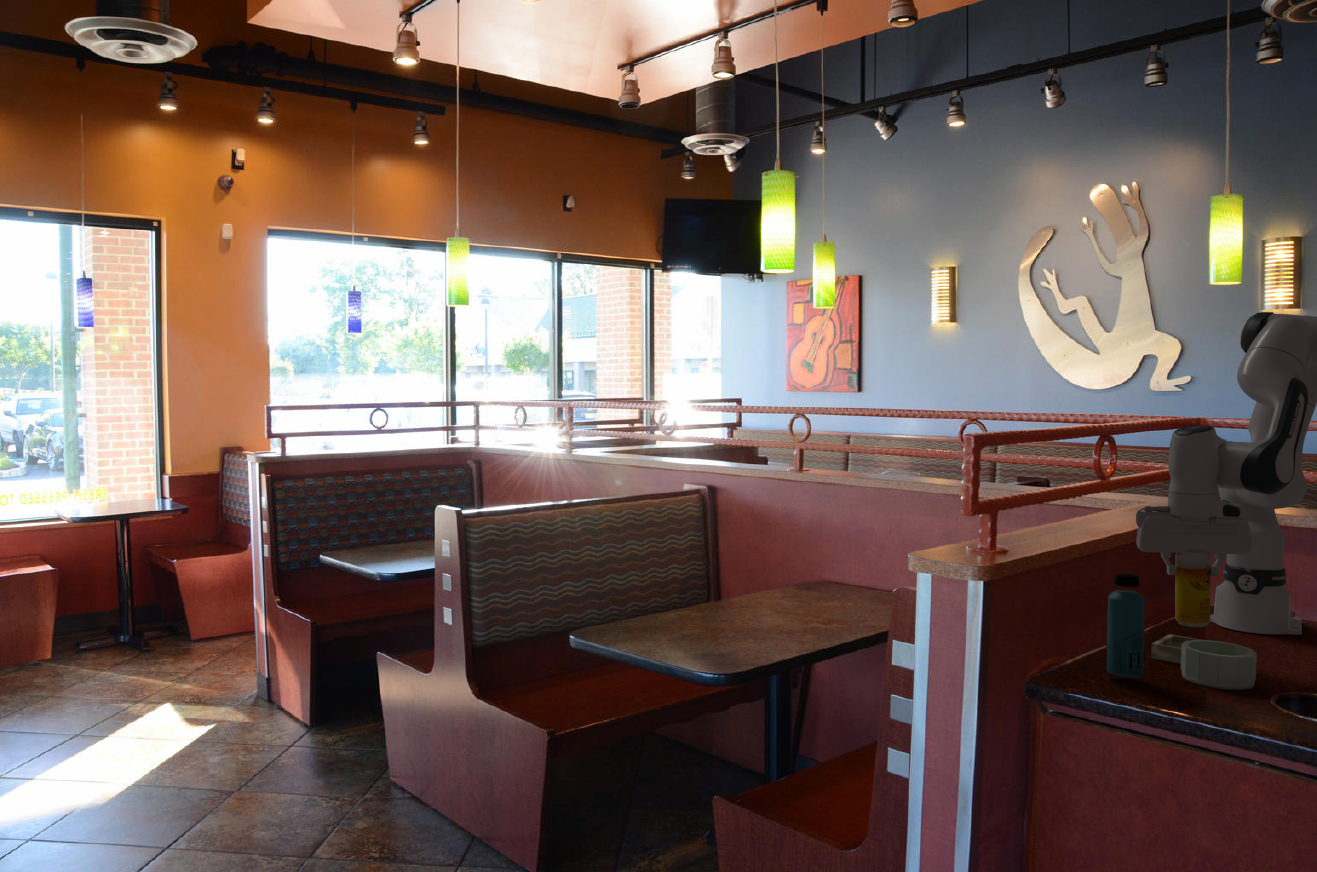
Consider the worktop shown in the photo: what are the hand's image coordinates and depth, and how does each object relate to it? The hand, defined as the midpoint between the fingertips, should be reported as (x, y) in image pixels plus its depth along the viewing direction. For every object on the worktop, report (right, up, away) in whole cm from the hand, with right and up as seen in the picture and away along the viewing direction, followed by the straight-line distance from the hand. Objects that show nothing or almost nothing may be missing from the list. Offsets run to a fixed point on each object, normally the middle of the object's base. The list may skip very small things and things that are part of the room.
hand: (1192, 574), depth 187 cm
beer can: (0, -10, 0) cm, 10 cm away
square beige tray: (0, -17, 0) cm, 17 cm away
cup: (-3, -18, -14) cm, 23 cm away
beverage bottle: (-21, -18, -14) cm, 31 cm away
